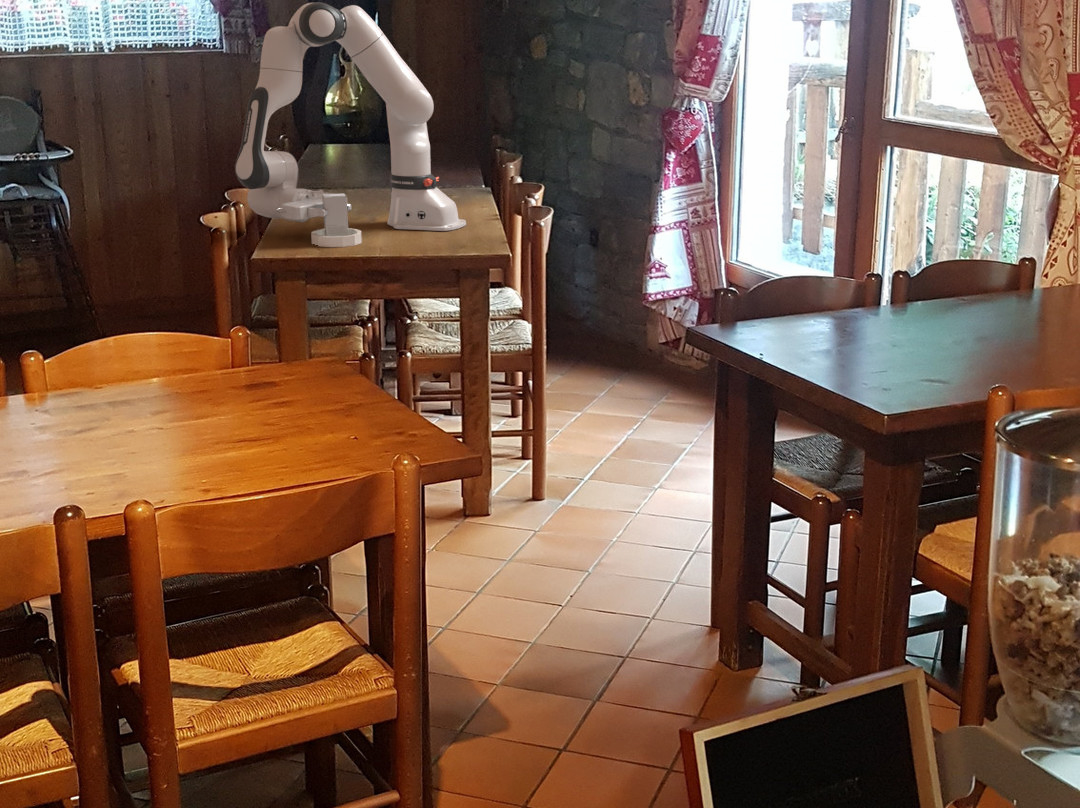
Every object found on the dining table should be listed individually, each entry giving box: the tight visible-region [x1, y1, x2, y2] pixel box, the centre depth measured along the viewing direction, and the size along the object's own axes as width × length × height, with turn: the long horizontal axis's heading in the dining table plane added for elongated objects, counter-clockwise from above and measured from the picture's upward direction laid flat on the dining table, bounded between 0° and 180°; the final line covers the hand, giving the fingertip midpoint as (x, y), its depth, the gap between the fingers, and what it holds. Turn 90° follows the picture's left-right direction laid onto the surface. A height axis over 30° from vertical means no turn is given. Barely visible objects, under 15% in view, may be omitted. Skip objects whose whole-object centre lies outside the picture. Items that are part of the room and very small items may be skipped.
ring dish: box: [310, 227, 363, 248], centre depth 327 cm, size 13×13×3 cm
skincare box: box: [322, 193, 349, 237], centre depth 324 cm, size 6×4×12 cm
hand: (337, 210), depth 324 cm, fingers open, 8 cm apart
